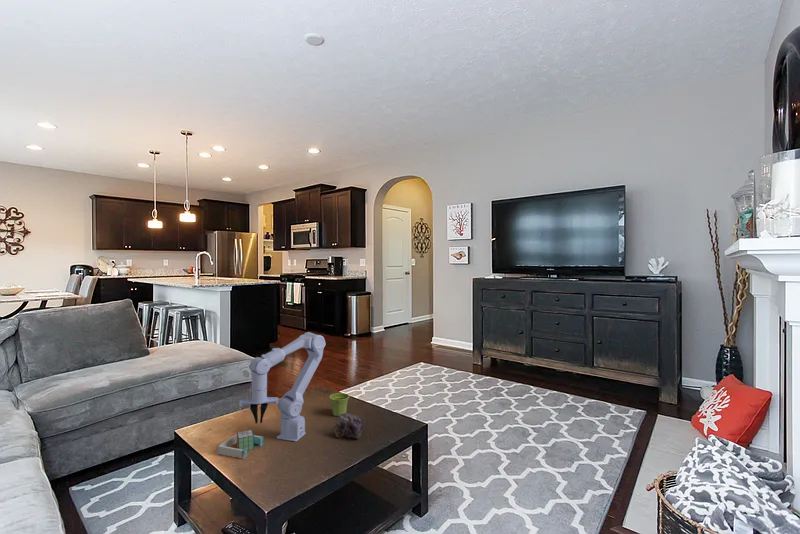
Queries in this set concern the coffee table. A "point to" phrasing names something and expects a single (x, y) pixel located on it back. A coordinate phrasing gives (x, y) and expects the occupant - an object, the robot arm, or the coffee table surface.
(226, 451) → the white frame
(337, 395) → the plant pot
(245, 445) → the puzzle toy
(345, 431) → the rock
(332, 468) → the coffee table surface
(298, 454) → the coffee table surface
